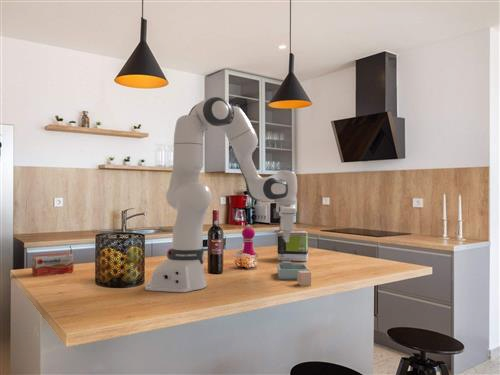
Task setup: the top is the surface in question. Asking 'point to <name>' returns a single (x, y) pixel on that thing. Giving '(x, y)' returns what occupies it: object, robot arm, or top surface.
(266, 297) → the top surface
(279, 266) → the tub
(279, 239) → the tea box
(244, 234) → the pepper mill
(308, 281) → the stone sandstone
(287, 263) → the grey block
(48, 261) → the medicine box
